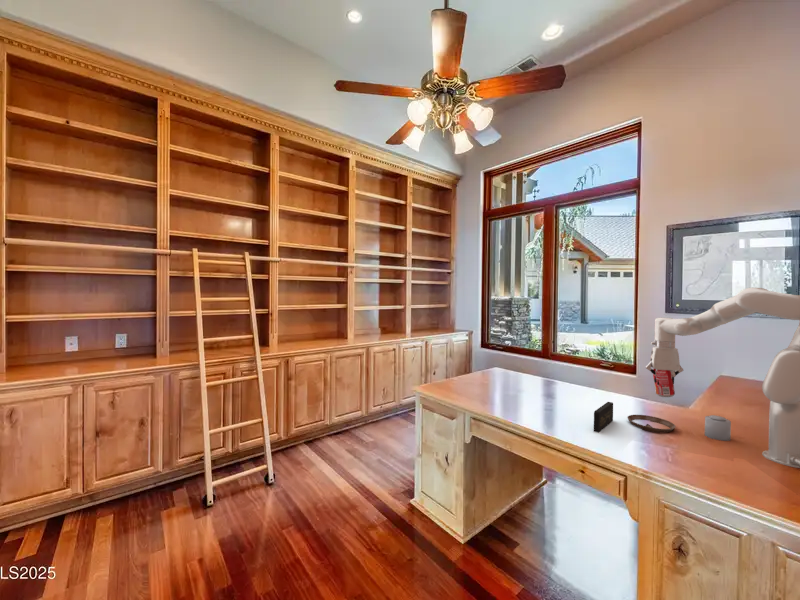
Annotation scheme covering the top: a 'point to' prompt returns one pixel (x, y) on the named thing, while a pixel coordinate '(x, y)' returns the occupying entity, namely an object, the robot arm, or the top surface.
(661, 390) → the soda can
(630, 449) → the top surface
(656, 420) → the plant saucer
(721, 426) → the grey ceramic cup
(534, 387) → the top surface
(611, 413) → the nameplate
